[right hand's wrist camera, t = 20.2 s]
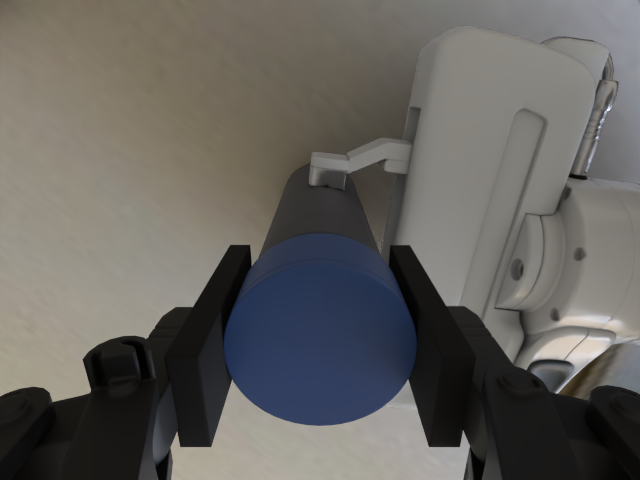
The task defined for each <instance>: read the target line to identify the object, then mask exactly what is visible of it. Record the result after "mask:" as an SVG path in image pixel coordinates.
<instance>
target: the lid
mask: <svg viewBox="0 0 640 480" xmlns="http://www.w3.org/2000/svg"><path fill="white" fill-rule="evenodd" d="M223 347H224V356H225V362H226V365H227V368H228V371H229V373H230V375H231V377H232V379H233V381H234V383H235V384H236V386H237V387H238V388H239V390H240V391H241V392H242V393H243V394H244V395H245V396H246V398H248V399H249V400H250V401H251V402H252V403H253V404H255V405H256V406H258V407H259V408H261V409H262V410H264V411H265V412H267V413H269V414H271V415H273V416H275V417H278V418H281V419H283V420H286V421H290V422H294V423H298V424H305V425H316V426H323V425H336V424H342V423H347V422H351V421H354V420H357V419H360V418H363V417H365V416H367V415H369V414H371V413H374V412H375V411H377V410H378V409H380V408H382V407H383V406H385V405H386V404H387V403H388V402H390V401H391V400H392V399H393V398H394V397H395V396H396V395H397V394H398V393H399V392H400V390H401V389H402V388H403V387H404V385H405V384H406V382H407V380H408V379H409V377H410V375H411V373H412V370H413V367H414V365H415V358H416V349H417V333H416V329H415V325H414V322H413V319H412V317H411V314H410V312H409V310H408V307H407V305H406V302H405V300H404V297H403V295H402V293H401V290H400V288H399V285H398V283H397V281H396V278H395V276H394V274H393V272H392V271H391V269H390V268H389V266H388V265H387V263H386V262H385V261H384V260H383V259H382V258H381V257H380V256H379V255H378V254H377V253H376V252H375V251H373V250H372V249H370V248H369V247H367V246H366V245H364V244H362V243H360V242H358V241H356V240H353V239H351V238H348V237H345V236H340V235H335V234H326V233H315V234H306V235H300V236H296V237H293V238H290V239H287V240H285V241H283V242H280V243H278V244H277V245H275V246H273V247H272V248H270V249H269V250H267V251H266V252H265V253H264V254H263V255H261V256H260V257H259V258H258V260H257V261H256V262H255V263H254V264H253V266H252V267H251V268H250V270H249V271H248V273H247V275H246V277H245V279H244V282H243V284H242V287H241V289H240V291H239V294H238V296H237V299H236V301H235V304H234V306H233V309H232V311H231V313H230V316H229V318H228V321H227V324H226V327H225V332H224V338H223Z"/></svg>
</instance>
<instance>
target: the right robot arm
mask: <svg viewBox="0 0 640 480" xmlns="http://www.w3.org/2000/svg"><path fill="white" fill-rule="evenodd" d="M251 267H252V265H251V251H250V245H230V247H229V248H228V250H227V252H226V253H225V255H224V257H223V258H222V260H221V262H220V263H219V265H218V267H217V268H216V270H215V272H214V273H213V275H212V277H211V278H210V280H209V282H208V283H207V285H206V287H205V288H204V290H203V292H202V293H201V295H200V297H199V298H198V300H197V302H196V303H195V305H194V307H175V308H174V309H172V310H171V311H170V312H168V313H167V314H165V315H164V316H163V317H162V318H161V319H160V321H159V322H158V324H157V325H156V326H155V329H153V331H152V332H151V333H150V335H149V338H147V339H145V338H143V337H138V336H122V337H118V338H114V339H110V340H108V341H106V342H104V343H101V344H99V345H98V346H96V347H95V348H93V349H92V350H90V351H89V352H88V353H87V355H86V356H85V357H84V358H83V362H84V366H85V369H86V373H87V377H88V380H89V384H90V387H91V392H90V393H89V394H86V395H82V396H78V397H74V398H69V399H65V400H60V401H56V402H52V399H51V396H50V393H49V392H48V391H47V390H45V389H44V388H38V387H29V388H22V389H18V390H15V391H12V392H9V393H7V394H4V395H2V396H0V480H171V474H172V464H173V461H172V454H171V449H170V447H171V444H172V442H173V440H174V437H175V435H176V433H177V431H178V437H179V442H180V447H211V446H212V442H213V439H214V436H215V433H216V429H217V426H218V423H219V420H220V417H221V413H222V410H223V407H224V404H225V400H226V397H227V394H228V391H229V388H230V384H231V381H232V377H231V375H230V373H229V371H228V368H227V365H226V362H225V356H224V347H223V338H224V332H225V327H226V324H227V321H228V318H229V316H230V313H231V311H232V309H233V306H234V304H235V301H236V299H237V296H238V294H239V291H240V289H241V287H242V284H243V282H244V279H245V277H246V275H247V273H248V271H249V270H250V268H251ZM389 268H390V269H391V271H392V272H393V274H394V276H395V278H396V281H397V283H398V285H399V288H400V290H401V293H402V295H403V297H404V300H405V302H406V305H407V307H408V310H409V312H410V314H411V317H412V319H413V322H414V325H415V329H416V333H417V349H416V358H415V365H414V367H413V370H412V373H411V375H410V377H409V379H408V380H409V384H410V387H411V390H412V393H413V397H414V400H415V403H416V406H417V409H418V413H419V416H420V419H421V422H422V426H423V429H424V432H425V435H426V438H427V442H428V445H429V447H460V443H461V438H462V432H463V430H464V433H465V435H466V437H467V440H468V442H469V444H470V449H469V454H468V459H467V464H466V469H465V474H464V480H640V394H638V393H636V392H633V391H631V390H627V389H624V388H621V387H615V386H608V385H606V386H599V387H596V388H595V389H594V390H592V391H591V394H590V397H589V400H588V401H587V400H582V399H578V398H573V397H569V396H564V395H560V394H556V393H553V392H550V391H549V390H548V388H547V387H546V385H545V384H544V382H543V381H542V380H541V379H539V378H538V377H537V376H536V375H534V374H533V373H531V372H529V371H527V370H525V369H523V368H520V367H516V366H514V365H513V364H512V362H511V361H510V359H509V358H508V357H507V355H506V354H505V352H504V351H503V350H502V348H501V347H500V345H499V344H498V343H497V341H496V340H495V339H494V337H492V334H491V333H490V332H489V330H488V329H487V328H485V325H484V323H483V322H482V320H481V319H480V318H479V316H478V315H477V314H475V313H474V312H472V311H471V310H470V309H468V308H467V307H465V306H446V305H445V303H444V301H443V300H442V298H441V296H440V295H439V293H438V291H437V290H436V288H435V286H434V285H433V283H432V281H431V280H430V278H429V276H428V275H427V273H426V271H425V270H424V268H423V266H422V265H421V263H420V261H419V260H418V258H417V256H416V255H415V253H414V251H413V249H412V248H411V246H410V245H390V254H389Z"/></svg>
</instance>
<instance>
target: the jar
mask: <svg viewBox="0 0 640 480" xmlns="http://www.w3.org/2000/svg"><path fill="white" fill-rule="evenodd" d="M310 164H311V163H309V164H307V165H304V166H302V167H301V168H299V169H298V170H297V171H295V172H294V173H293V175H292V176H291V177H290V179H289V180H288V182H287V184H286V187H285V189H284V192H283V195H282V197H281V200H280V203H279V205H278V208H277V211H276V213H275V216H274V218H273V221H272V224H271V226H270V229H269V232H268V234H267V237H266V240H265V242H264V245H263V247H262V250H261V253H260V255H259V257H260V256H261V255H263V254H264V253H265V252H266V251H267V250H269V249H270V248H272V247H273V246H275V245H277V244H278V243H280V242H283V241H285V240H287V239H290V238H293V237H296V236H300V235H306V234H315V233H326V234H335V235H340V236H345V237H348V238H351V239H353V240H356V241H358V242H360V243H362V244H364V245H366V246H367V247H369V248H370V249H372V250H373V251H375V252H376V253H377V254H378V255H379V256H380V257H381V255H380V253H379V250H378V247H377V245H376V242H375V239H374V237H373V234H372V231H371V229H370V226H369V224H368V221H367V218H366V216H365V213H364V210H363V208H362V205H361V202H360V200H359V197H358V194H357V192H356V189H355V186H354V184H353V182H352V180H351V178H350V177H349V176H348V174H346V180H345V186H344V190H339V189H333V188H330V187H328V186H327V185H325V186H323V187H315V186H311V185H309V174H310Z"/></svg>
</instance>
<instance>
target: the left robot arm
mask: <svg viewBox="0 0 640 480" xmlns="http://www.w3.org/2000/svg"><path fill="white" fill-rule="evenodd" d="M601 75H602V80H600V78H601ZM612 79H613V62H612V58H611V56H610V54H609V51H608V48H607V47H605V46H604V45H602V44H600V43H598V42H595V41H593V40H586V39H579V38H572V37H564V36H562V37H554V38H550V39H548V40H545V41H543V42H542V43H537V42H534V41H531V40H527V39H524V38H521V37H517V36H514V35H510V34H506V33H502V32H498V31H494V30H489V29H484V28H479V27H473V26H459V27H454V28H451V29H449V30H446V31H445V32H443V33H441V34H440V35H438V36H437V37H435V38H434V39H433V40H431V41H430V42H429V43H428V44H426V45H425V46H424V47H423V48H422V49H421V51H420V53H419V56H418V61H417V66H416V71H415V76H414V82H413V87H412V92H411V97H410V102H409V107H408V113H407V118H406V123H405V128H404V133H403V138H402V140H399V139H390V138H382V137H381V138H379V139H377V140H374V141H372V142H370V143H367V144H365V145H363V146H361V147H358V148H356V149H354V150H352V151H349V152H347V153H346V155H341V154H333V153H324V152H312V155H311V164H310V174H309V185H311V186H315V187H323V186H325V185H327V186H328V187H330V188H333V189H339V190H344V186H345V180H346V174H349V173H351V172H354V171H356V170H359V169H361V168H364V167H366V166H369V165H371V164H374V163H376V162H378V163H379V164H380V166H381V167H382V168H383V169H384V170H385V171H386V172H392V173H396V175H395V180H394V185H393V190H392V195H391V201H390V206H389V211H388V216H387V221H386V226H385V232H384V237H383V242H382V247H381V252H380V255H381V258H382V259H383V260H384V261H385V262H386V263H387V265H388V266H389V254H390V245H410V246H411V248H412V249H413V251H414V253H415V255H416V256H417V258H418V260H419V261H420V263H421V265H422V266H423V268H424V270H425V271H426V273H427V275H428V276H429V278H430V280H431V281H432V283H433V285H434V286H435V288H436V290H437V291H438V293H439V295H440V296H441V298H442V300H443V301H444V303H445V305H446V306H465V307H467V308H468V309H470V310H471V311H472V312H474V313H475V314H477V315H478V316H479V318H480V319H481V320H482V322H483V323H484V325H485V328H487V329H488V330H489V332H490V333H491V334H492V337H494V339H495V340H496V341H497V343H498V344H499V345H500V347H501V348H502V350H503V351H504V352H505V354H506V355H507V357H508V358H509V359H510V361H511V362H512V364H513V365H514V366H516V367H520V368H523V369H525V370H527V371H529V372H531V373H533V374H534V375H536V376H537V377H538V378H539V379H541V380H542V381H543V382H544V384H545V385H546V387H547V388H548V390H549V391H550V392H553V393H556V394H557V393H558V392H559V391H560V390H561V389H562V388H563V387H564V386H565V385H566V384H567V383H568V382H569V381H570V380H571V379H572V378H573V377H574V376H575V375H576V374H577V373H578V372H579V371H580V370H581V369H582V368H584V367H585V366H586V365H587V364H588V363H590V362H591V361H592V360H594V359H595V358H596V357H598V356H599V355H600V354H602V353H603V352H604V351H606V350H607V349H608V348H609V347H610V346H611V345H612V344H624V343H632V344H636V345H638V346H640V184H636V183H630V182H622V181H614V180H605V179H597V178H589V177H586V175H587V172H588V170H589V167H590V165H591V162H592V159H593V157H594V154H595V151H596V149H597V145H598V142H599V140H598V139H599V138H600V133H601V130H602V128H601V127H603V124H604V122H603V121H605V118H606V116H607V113H608V112H610V110H611V108H612V106H613V104H614V102H615V99H616V95H617V91H618V84H619V83H618V82H617V81H613V80H612ZM385 406H388V407H393V408H402V409H411V410H418V409H417V406H416V403H415V400H414V397H413V393H412V390H411V387H410V384H409V380H407V382H406V384H405V385H404V387H403V388H402V389H401V390H400V392H399V393H398V394H397V395H396V396H395V397H394V398H393V399H392V400H391V401H390V402H388V403H387V404H386V405H385Z"/></svg>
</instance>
